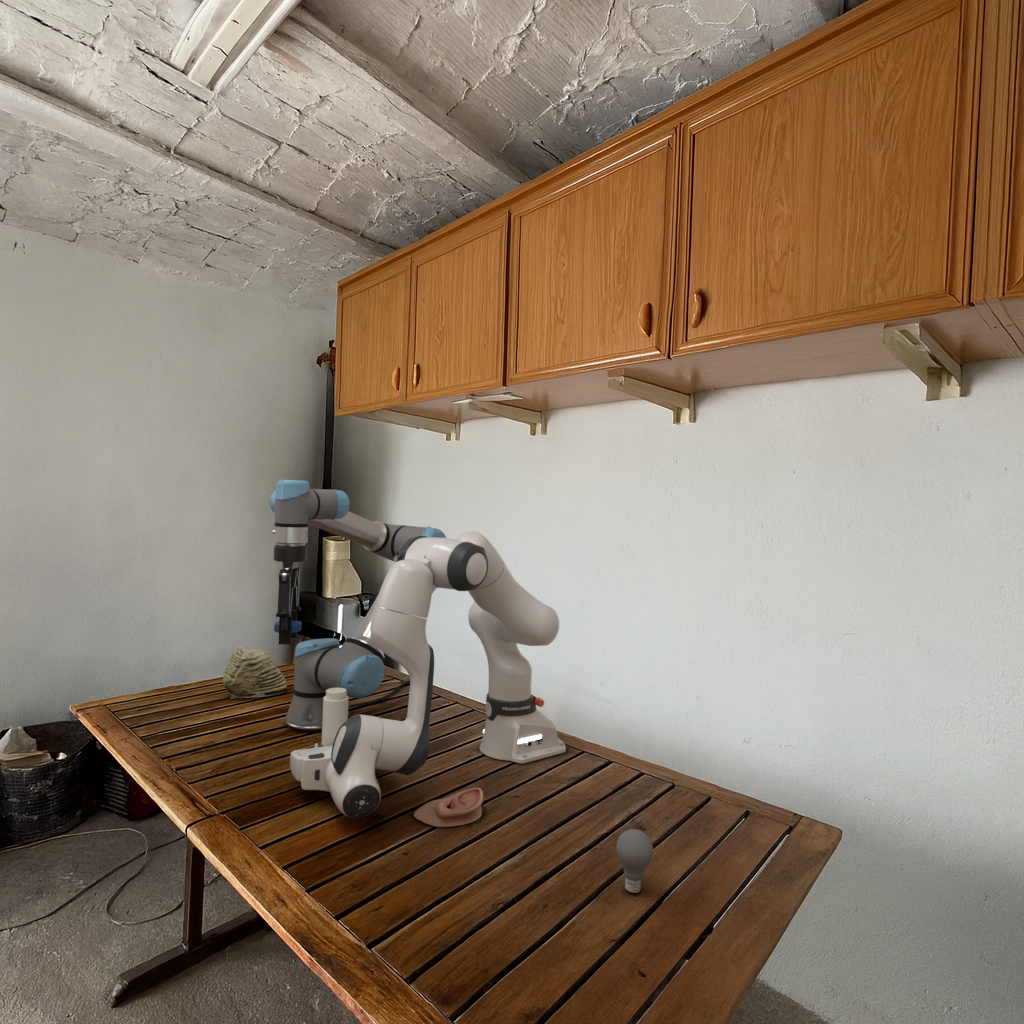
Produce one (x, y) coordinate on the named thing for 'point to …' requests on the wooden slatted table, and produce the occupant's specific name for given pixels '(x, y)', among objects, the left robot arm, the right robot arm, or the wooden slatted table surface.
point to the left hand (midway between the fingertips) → (287, 640)
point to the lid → (295, 626)
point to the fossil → (252, 674)
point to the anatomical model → (452, 809)
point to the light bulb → (634, 857)
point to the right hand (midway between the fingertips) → (333, 744)
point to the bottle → (333, 714)
